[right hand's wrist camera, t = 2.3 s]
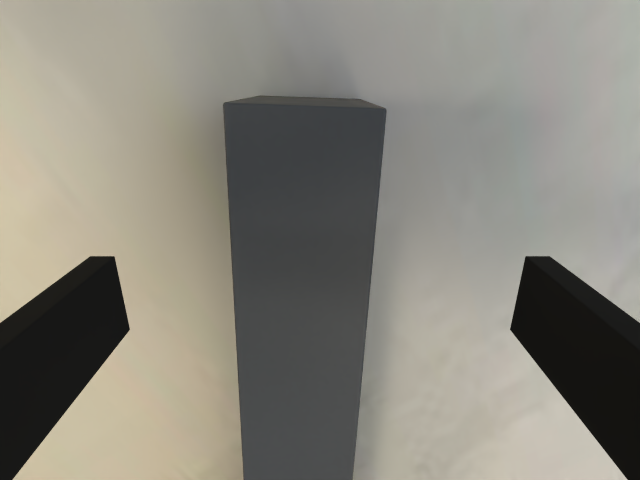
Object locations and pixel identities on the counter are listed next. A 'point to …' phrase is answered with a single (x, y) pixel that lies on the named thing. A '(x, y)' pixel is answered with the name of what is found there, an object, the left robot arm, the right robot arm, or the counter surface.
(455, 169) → the counter surface
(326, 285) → the bar
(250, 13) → the counter surface
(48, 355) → the right robot arm
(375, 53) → the counter surface
